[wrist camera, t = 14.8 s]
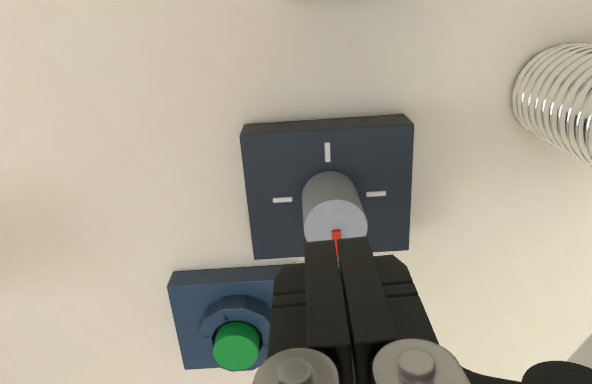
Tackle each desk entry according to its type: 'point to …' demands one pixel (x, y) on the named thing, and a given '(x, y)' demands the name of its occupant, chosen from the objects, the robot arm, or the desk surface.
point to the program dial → (332, 208)
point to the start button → (236, 345)
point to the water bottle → (558, 98)
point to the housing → (220, 309)
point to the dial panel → (319, 158)
